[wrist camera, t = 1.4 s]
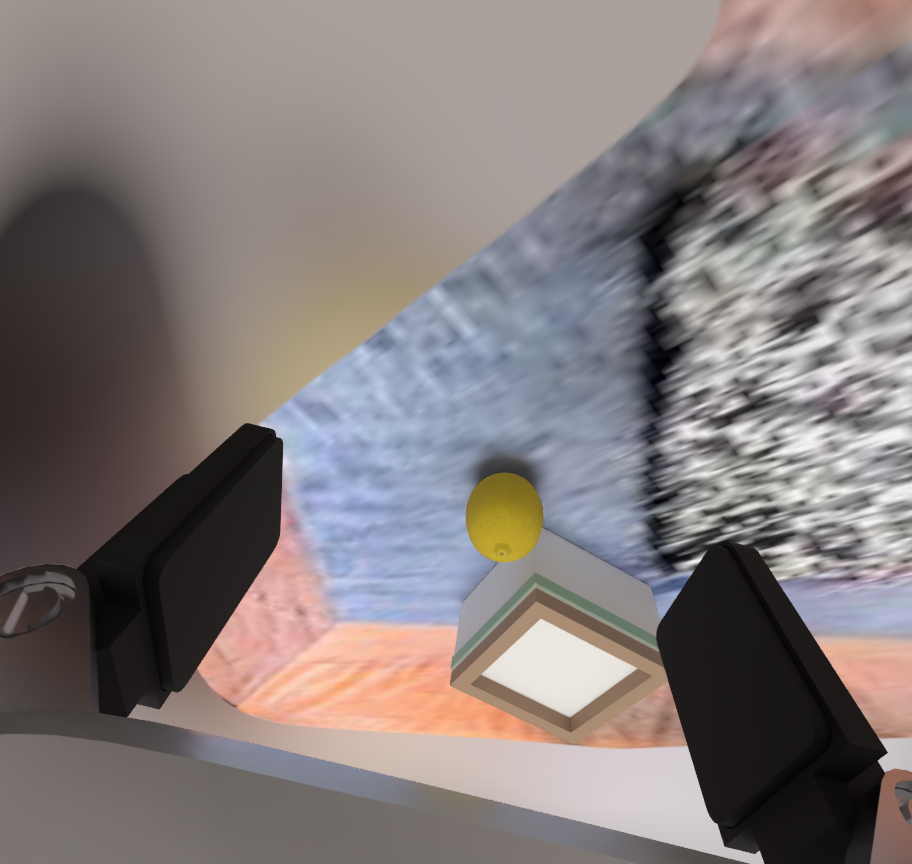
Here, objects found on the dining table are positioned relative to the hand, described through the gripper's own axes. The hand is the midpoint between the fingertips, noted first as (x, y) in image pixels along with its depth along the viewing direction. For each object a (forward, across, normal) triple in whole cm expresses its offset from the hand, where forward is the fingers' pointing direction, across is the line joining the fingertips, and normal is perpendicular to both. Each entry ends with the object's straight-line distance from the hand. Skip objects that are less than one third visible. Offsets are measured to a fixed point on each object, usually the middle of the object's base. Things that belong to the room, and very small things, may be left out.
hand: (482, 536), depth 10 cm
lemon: (+23, -4, +14) cm, 27 cm away
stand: (+23, -11, +25) cm, 35 cm away
